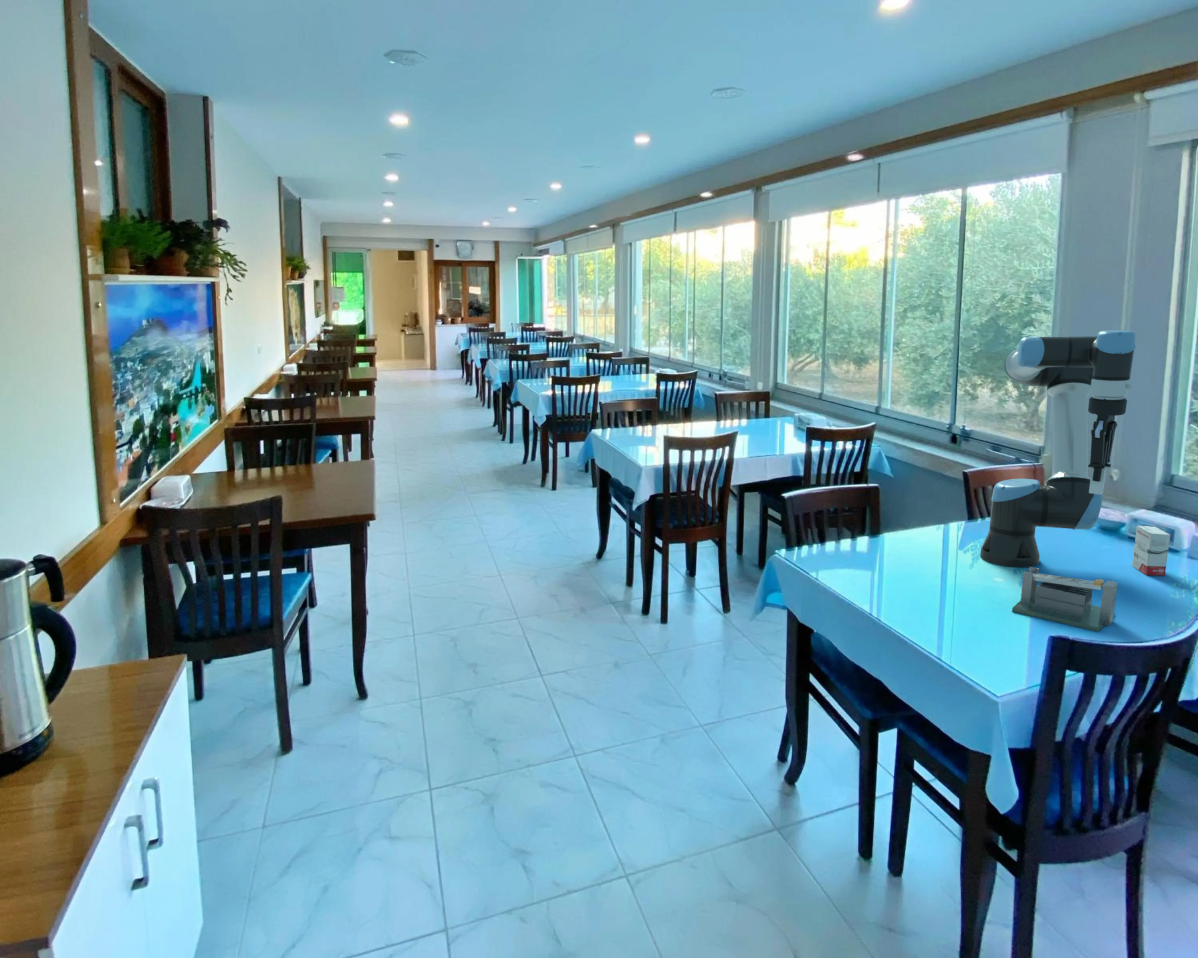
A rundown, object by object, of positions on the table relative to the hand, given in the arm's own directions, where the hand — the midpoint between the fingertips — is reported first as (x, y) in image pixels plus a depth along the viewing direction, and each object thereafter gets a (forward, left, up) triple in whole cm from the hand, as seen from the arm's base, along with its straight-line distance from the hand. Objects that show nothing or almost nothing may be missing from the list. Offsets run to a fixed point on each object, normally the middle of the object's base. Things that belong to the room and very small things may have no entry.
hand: (1096, 493), depth 187 cm
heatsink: (-1, -14, -27) cm, 30 cm away
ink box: (+8, +34, -27) cm, 44 cm away
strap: (-2, -14, -20) cm, 24 cm away
